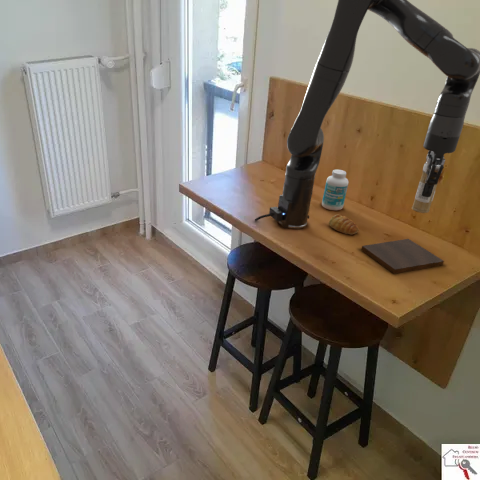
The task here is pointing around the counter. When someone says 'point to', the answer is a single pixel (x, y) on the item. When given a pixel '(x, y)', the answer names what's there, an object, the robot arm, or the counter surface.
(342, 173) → the pill bottle
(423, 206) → the sprinkles bottle
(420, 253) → the walnut board
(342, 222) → the pastry
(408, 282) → the counter surface
